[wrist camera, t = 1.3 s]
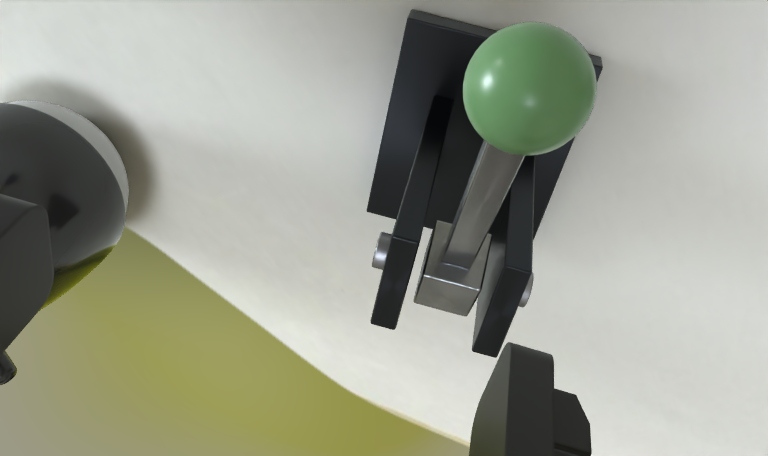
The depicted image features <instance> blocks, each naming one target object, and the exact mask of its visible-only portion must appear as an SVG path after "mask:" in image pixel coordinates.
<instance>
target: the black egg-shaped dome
mask: <svg viewBox="0 0 768 456" xmlns="http://www.w3.org/2000/svg"><path fill="white" fill-rule="evenodd" d="M0 194H2V195H6V196H9V197H13V198H16V199H20V200H23V201H27V202H30V203H34V204H37V205H41V206H43V207H44V208H45V209H46V211H47V213H48V219H49V229H50V238H51V248H52V257H53V267H54V279H53V284H52V288H51V291H50V294H49V296H48V298H47V300H46V302H45V303H44V305H43V306H42V307H41V309H43V308H44V307H46V306H47V305H49V304H50V303H52V302H53V301H55V300H56V299H58V298H59V297H61V296H62V295H63V294H64V293H66V292H67V291H68V290H70V289H71V288H72V287H73V286H75V285H76V284H77V283H78V282H80V281H81V280H82V279H83V278H84V277H85V276H87V275H88V274H89V273H90V272H91V271H92V270H93V269H94V268H96V267H97V266H98V265H99V264H100V263H101V262H102V261H103V260H104V259H105V258H106V257H107V255H108V254H109V253H110V252H111V251H112V249H113V248H114V247H115V246H116V244H117V243H118V241H119V239H120V237H121V235H122V233H123V230H124V226H125V216H126V210H127V205H128V197H129V187H128V178H127V174H126V170H125V167H124V164H123V162H122V159H121V157H120V155H119V153H118V152H117V150H116V148H115V147H114V145H113V144H112V143H111V141H110V140H109V139H108V138H107V136H106V135H105V134H104V133H103V132H102V131H101V130H100V129H99V128H98V127H96V126H95V125H94V124H93V123H92V122H90V121H89V120H87V119H86V118H84V117H83V116H81V115H80V114H78V113H76V112H74V111H72V110H69V109H67V108H65V107H62V106H59V105H55V104H52V103H47V102H41V101H14V102H7V103H0ZM41 309H40V310H41ZM40 310H39V311H40ZM16 373H17V368H16V366H15V365H14V363H13V362H12V360H11V359H10V357H9V356H8V355H7V353H6V352H5V351H4V352H3V353H2V354H1V355H0V385H3V384H5V383H7V382H9V381H10V380H11V379H12V378H13V377H14V376H15V375H16Z"/></svg>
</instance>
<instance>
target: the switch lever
mask: <svg viewBox="0 0 768 456" xmlns="http://www.w3.org/2000/svg"><path fill="white" fill-rule="evenodd" d="M596 85H597V82H596V75H595V70H594V67H593V64H592V61H591V58H590V57H589V55H588V53H587V52H586V50H585V48H584V47H583V46H582V45H581V43H580V42H579V41H578V40H577V39H576V38H575V37H573V36H572V35H571V34H569V33H568V32H566V31H564V30H563V29H561V28H559V27H556V26H554V25H551V24H547V23H541V22H523V23H518V24H514V25H511V26H508V27H505V28H503V29H501V30H499V31H497V32H496V33H494V34H493V35H491V36H490V37H489V38H488V39H487V40H485V41H484V42H483V43H482V44H481V45H480V47H479V48H478V49H477V50H476V52H475V53H474V55H473V56H472V58H471V60H470V62H469V64H468V67H467V69H466V72H465V77H464V82H463V101H464V106H465V110H466V113H467V116H468V118H469V120H470V122H471V124H472V125H473V127H474V129H475V130H476V131H477V132H478V134H479V135H480V136H481V137H482V138H483V139H484V141H483V143H482V146H481V149H480V151H479V154H478V157H477V159H476V162H475V165H474V167H473V170H472V173H471V176H470V178H469V181H468V184H467V186H466V189H465V192H464V194H463V197H462V200H461V202H460V205H459V208H458V210H457V213H456V216H455V218H454V221H453V224H451V223H447V222H444V221H440V220H436V222H435V224H434V227H433V231H432V234H431V237H430V240H429V243H428V246H427V249H426V252H425V256H424V260H423V264H422V268H421V272H420V276H419V280H418V284H417V288H416V292H415V296H414V303H417V304H421V305H424V306H428V307H432V308H436V309H439V310H443V311H447V312H450V313H454V314H458V315H462V316H467V315H468V314H469V312H470V310H471V308H472V307H473V305H474V303H475V301H476V299H477V298H478V296H479V294H480V292H481V290H482V286H483V281H484V276H485V271H486V266H487V261H488V257H489V252H490V247H491V242H492V234H489V233H488V232H489V230H490V228H491V225H492V223H493V221H494V219H495V217H496V215H497V213H498V211H499V209H500V207H501V205H502V203H503V201H504V199H505V197H506V194H507V192H508V190H509V188H510V186H511V184H512V182H513V180H514V178H515V176H516V174H517V172H518V170H519V168H520V165H521V163H522V161H523V159H524V157H525V156H530V155H539V154H543V153H547V152H550V151H553V150H555V149H557V148H559V147H561V146H563V145H564V144H566V143H567V142H568V141H570V140H571V139H572V138H574V137H575V136H576V135H577V133H578V132H579V131H580V130H581V129H582V128H583V126H584V125H585V123H586V122H587V120H588V118H589V116H590V114H591V112H592V109H593V106H594V102H595V98H596Z"/></svg>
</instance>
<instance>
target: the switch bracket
mask: <svg viewBox="0 0 768 456" xmlns="http://www.w3.org/2000/svg"><path fill="white" fill-rule="evenodd" d="M496 32H497V31H494V30H490V29H486V28H482V27H478V26H474V25H471V24H467V23H463V22H459V21H455V20H451V19H447V18H443V17H439V16H435V15H431V14H427V13H423V12H419V11H415V10H411V12H410V14H409V16H408V18H407V23H406V28H405V32H404V37H403V42H402V46H401V51H400V56H399V61H398V65H397V70H396V75H395V79H394V84H393V89H392V93H391V98H390V103H389V108H388V112H387V117H386V122H385V126H384V131H383V136H382V140H381V145H380V150H379V155H378V159H377V164H376V169H375V173H374V178H373V183H372V188H371V192H370V197H369V202H368V206H367V212H370V213H374V214H378V215H382V216H385V217H389V218H393V219H396V223H395V226H394V229H393V233H392V234H388V233H384V232H381V233H380V236H379V239H378V242H377V246H376V249H375V253H374V257H373V262H372V267H374V268H378V269H382V270H383V273H382V277H381V281H380V285H379V289H378V293H377V297H376V301H375V305H374V309H373V313H372V317H371V324H374V325H378V326H381V327H385V328H389V329H392V330H394V329H395V328H396V326H397V322H398V318H399V315H400V311H401V308H402V304H403V301H404V297H405V293H406V290H407V286H408V283H409V279H410V275H411V272H412V268H413V265H414V261H415V257H416V254H417V250H418V247H419V243H420V239H421V235H422V231H423V227H427V228H431V229H433V227H434V224H435V222H436V220H440V221H444V222H447V223H451V224H453V221H454V218H455V216H456V213H457V210H458V208H459V205H460V202H461V200H462V197H463V194H464V192H465V189H466V186H467V184H468V181H469V178H470V176H471V173H472V170H473V167H474V165H475V162H476V159H477V157H478V154H479V151H480V149H481V146H482V143H483V141H484V139H483V138H482V137H481V136H480V135H479V134H478V132H477V131H476V130H475V129H474V127H473V125H472V124H471V122H470V120H469V118H468V116H467V113H466V110H465V106H464V101H463V82H464V77H465V72H466V69H467V67H468V64H469V62H470V60H471V58H472V56H473V55H474V53H475V52H476V50H477V49H478V48H479V47H480V45H481V44H482V43H483V42H484V41H485V40H487V39H488V38H489V37H490V36H491V35H493V34H494V33H496ZM588 55H589V54H588ZM589 57H590V58H591V61H592V64H593V67H594V70H595V75H596V82H597V81H598V78H599V76H600V73H601V71H602V68H603V67H602V61H601V58H600V57H597V56H593V55H589ZM574 138H575V137H574ZM574 138H572V139H571V140H570V141H568V142H567V143H566V144H564V145H563V146H561V147H559V148H557V149H555V150H553V151H550V152H547V153H543V154H539V155H530V156H525V157H524V159H523V161H522V163H521V165H520V168H519V170H518V172H517V174H516V176H515V178H514V180H513V182H512V184H511V186H510V188H509V190H508V192H507V194H506V197H505V199H504V201H503V203H502V205H501V207H500V209H499V211H498V213H497V215H496V217H495V219H494V221H493V223H492V225H491V228H490V230H489V232H488V233H489V234H492V242H491V247H490V252H489V257H488V261H487V266H486V271H485V276H484V281H483V286H482V290H481V292H480V294H479V296H478V302H477V311H476V319H475V328H474V336H473V345H472V351H473V352H476V353H480V354H484V355H487V356H491V357H495V358H496V357H497V356H498V354H499V351H500V349H501V347H502V344H503V342H504V339H505V337H506V335H507V332H508V330H509V327H510V325H511V322H512V320H513V318H514V315H515V313H516V310H517V308H518V306H520V307H524V306H525V305H526V304H527V302H528V299H529V297H530V293H531V290H532V285H533V272H532V254H533V240H534V237H535V235H536V232H537V230H538V227H539V225H540V223H541V220H542V218H543V215H544V213H545V210H546V208H547V205H548V203H549V200H550V198H551V195H552V193H553V190H554V188H555V185H556V183H557V180H558V178H559V175H560V173H561V170H562V168H563V165H564V163H565V160H566V158H567V155H568V153H569V150H570V148H571V145H572V143H573V140H574Z"/></svg>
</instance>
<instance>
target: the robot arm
mask: <svg viewBox="0 0 768 456" xmlns="http://www.w3.org/2000/svg"><path fill="white" fill-rule="evenodd" d="M53 279H54V267H53V257H52V248H51V238H50V229H49V219H48V213H47V211H46V209H45V208H44V207H43V206H41V205H37V204H34V203H30V202H27V201H23V200H20V199H16V198H13V197H9V196H6V195H2V194H0V355H1V354H2V353H3V352H4V351H5V349H6V348H7V347H8V346H9V345H10V344H11V343H12V341H13V340H14V339H15V338H16V337H17V336H18V334H19V333H20V332H21V331H22V330H23V329H24V327H25V326H26V325H27V324H28V323H29V322H30V320H31V319H32V318H33V317H34V316H35V315H36V313H37V312H38V311H39V310H40V309H41V307H42V306H43V305H44V303H45V302H46V300H47V298H48V296H49V294H50V291H51V288H52V284H53ZM469 456H591V436H590V423H589V421H588V419H587V417H586V415H585V413H584V411H583V409H582V407H581V405H580V402H579V400H578V398H577V396H576V395H575V394H571V393H568V392H564V391H561V390H557V389H554V361H553V356H552V355H551V354H548V353H544V352H541V351H537V350H534V349H531V348H527V347H524V346H520V345H517V344H513V343H510V342H508V343H507V344H506V345H505V347H504V349H503V351H502V353H501V355H500V357H499V360H498V362H497V364H496V366H495V368H494V370H493V373H492V375H491V377H490V379H489V381H488V384H487V386H486V388H485V390H484V392H483V394H482V397H481V399H480V402H479V404H478V407H477V411H476V414H475V418H474V422H473V427H472V433H471V442H470V452H469Z"/></svg>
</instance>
